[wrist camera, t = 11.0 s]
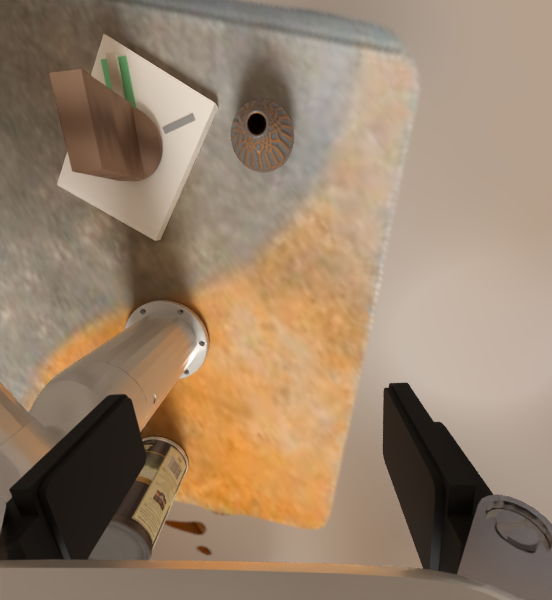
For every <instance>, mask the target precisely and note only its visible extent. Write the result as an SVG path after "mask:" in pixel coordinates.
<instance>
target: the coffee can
mask: <svg viewBox="0 0 552 600" xmlns="http://www.w3.org/2000/svg"><path fill="white" fill-rule="evenodd" d="M142 441H143V444H144V448H145V452H146V463H145V465H144V467H143V469H142V470H141V472H140V474H139V475H138V477H137V479H136V480H135V482H134V484H133V485H132V487H131V489H130V490H129V492H128V493H127V495H126V497H125V498H124V500H123V502H122V503H121V505H120V507H119V508H118V510H117V511H116V513H115V515H114V516H113V518H112V520H111V521H110V523H109V525H108V526H107V528H106V530H105V531H104V533H103V534H102V536H101V538H100V539H99V541H98V543H97V544H96V546H95V548H94V549H93V551H92V553H91V554H90V556H89V557H88V559H87V560H150V558H151V555H152V550H153V548H154V546H155V543H156V541H157V539H158V536H159V534H160V531H161V529H162V527H163V525H164V522H165V520H166V518H167V515H168V513H169V511H170V508H171V506H172V504H173V501H174V499H175V497H176V494H177V492H178V490H179V487H180V485H181V483H182V480H183V478H184V476H185V474H186V472H187V470H188V458H187V456H186V454H185V452H184V451H183V449H182V448H181V447H180V446H179V445H178V444H176V443H175V442H173V441H171V440H169V439H167V438H163V437H157V436H151V437H146V438H144V439H142Z"/></svg>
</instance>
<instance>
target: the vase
mask: <svg viewBox="0 0 552 600" xmlns="http://www.w3.org/2000/svg"><path fill="white" fill-rule="evenodd" d="M231 142H232V146H233V149H234V152H235V154H236V155H237V157H238V158H239V160H240V161H241V162H242V163H243V164H244V165H245V166H247V167H248V168H250V169H251V170H254V171H257V172H271V171H274V170H276V169H278V168H279V167H281V166H282V165H283V164H284V163H285V162H286V161H287V159H288V158H289V156H290V154H291V151H292V148H293V143H294V131H293V126H292V123H291V120H290V118H289V116H288V115H287V113H286V112H285V110H284V109H283V108H282V107H281V106H279V105H278V104H276V103H275V102H273V101H270V100H266V99H256V100H252V101H250V102H248V103H246V104H245V105H243V106H242V107H241V108H240V109H239V111H238V112H237V114H236V115H235V117H234V120H233V123H232V127H231Z"/></svg>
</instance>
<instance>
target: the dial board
mask: <svg viewBox="0 0 552 600" xmlns="http://www.w3.org/2000/svg"><path fill="white" fill-rule="evenodd" d="M112 52H115V53H116V54H117V55H118V61H119V66H120V72H121V78H122V83H123V89H124V94H125V99H126V100H127V101H129V102H130V103H132V107H134V108H137V109H138V110H140V111H142V112H143V113H144V114H146V115H147V116H148V117H149V118H150V119H151V120H152V121H153V122H154V124H155V125H156V127H157V129H158V131H159V133H160V136H161V140H162V158H161V161H160V164H159V166H158V168H157V169H156V171H155V172H154V173H153V174H152V175H151V176H149V177H148V178H146V179H144V180H140V181H117V180H112V179H107V178H102V177H97V176H92V175H87V174H82V173H77V172H72V169H71V164H70V160H69V156H68V152H67V154H66V157H65V160H64V164H63V167H62V170H61V173H60V177H59V180H58V183H57V185H58V186H60V187H62V188H63V189H65V190H67V191H69V192H70V193H72V194H74V195H76V196H77V197H79V198H81V199H83V200H84V201H86V202H88V203H90V204H91V205H93V206H95V207H97V208H98V209H100V210H102V211H104V212H105V213H107V214H109V215H111V216H113V217H114V218H116V219H118V220H120V221H121V222H123V223H125V224H127V225H128V226H130V227H132V228H134V229H135V230H137V231H139V232H141V233H142V234H144V235H146V236H148V237H149V238H151V239H153V240H155V241H157V240H161V238H162V235H163V233H164V231H165V228H166V226H167V224H168V222H169V219H170V217H171V215H172V213H173V210H174V208H175V206H176V203H177V201H178V199H179V197H180V194H181V192H182V190H183V187H184V185H185V183H186V181H187V178H188V176H189V174H190V172H191V169H192V167H193V165H194V162H195V160H196V158H197V156H198V153H199V151H200V149H201V147H202V144H203V142H204V140H205V137H206V135H207V133H208V131H209V128H210V126H211V124H212V121H213V119H214V117H215V115H216V112H217V110H218V106H217V105H216V104H215V103H214V102H213V101H211V100H210V99H208V98H206V97H205V96H203V95H201V94H200V93H198V92H197V91H195V90H193V89H192V88H190V87H189V86H187V85H185V84H184V83H182V82H181V81H179V80H177V79H176V78H174V77H173V76H171V75H169V74H168V73H166V72H165V71H163V70H161V69H160V68H158V67H157V66H155V65H153V64H152V63H150V62H149V61H147V60H145V59H144V58H142V57H141V56H139V55H137V54H136V53H134V52H133V51H131V50H129V49H128V48H126V47H125V46H123V45H121V44H120V43H118V42H117V41H115V40H113V39H112V38H110V37H109V36H107V35H105V34H103V38H102V41H101V44H100V47H99V50H98V54H97V57H96V60H95V63H94V67H93V70H92V73H91V76H92V77H94V78H95V79H97V80H98V81H99V82H101V83H102V84H104V85H105V86H107V87H108V88H110V89H111V90H112V85H111V80H110V74H109V69H108V64H107V58H106V53H112Z"/></svg>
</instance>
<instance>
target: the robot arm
mask: <svg viewBox="0 0 552 600" xmlns="http://www.w3.org/2000/svg"><path fill="white" fill-rule="evenodd" d="M145 310H146V311H145ZM181 310H183V312H182V311H181ZM203 341H204V342H203ZM208 350H209V338H208V333H207V330H206V328H205V326H204V324H203V322H202V321H201V319H200V318H199V317H198V316H197V314H195V313H194V312H193V311H192V310H191V309H189V308H188V307H186V306H184V305H183V304H180V303H177V302H175V301H170V300H156V301H151V302H148V303H146V304H144V305H142V306H140V307H139V308H137V309H136V310H135V311H134V312H133V313H132V314H131V316H130V317H129V318H128V321H127V323H126V325H125V330H124V331H122V332H121V333H119V334H118V335H116V336H115V337H113V338H112V339H110V340H109V341H107V342H106V343H104V344H103V345H101V346H100V347H98V348H97V349H95V350H94V351H92V352H91V353H89V354H88V355H86V356H85V357H83V358H82V359H80V360H79V361H77V362H76V363H74V364H73V365H71V366H70V367H68V368H67V369H65V370H64V371H62V372H61V373H59V374H58V375H57V376H55V377H54V378H53V379H52V380H51V381H50V382H49V383H48V384H47V385H46V386H45V387H44V388H43V390H42V391H41V392H40V394H39V395H38V397H37V398H36V400H35V401H34V403H33V405H32V407H31V409H30V411H29V413H28V412H27V411H26V410H25V408H24V407H23V406H22V405H21V404H20V403H19V402H18V401H17V400H16V399H15V398H14V397H13V395H12V394H11V393H10V392H9V391H8V390H7V389H6V388H5V387H4V386H3V385H2V383H1V382H0V600H552V524H551V523H550V522H549V521H548V520H547V518H546V517H544V516H543V515H542V514H541V513H539V512H538V511H537V510H536V509H534V508H533V507H531V506H529V505H527V504H526V503H524V502H522V501H519V500H517V499H514V498H512V497H509V496H503V495H493V494H492V492H491V491H490V489H489V488H488V487H487V485H486V484H485V482H484V481H483V479H482V478H481V477H480V475H479V474H478V472H477V471H476V469H475V468H474V467H473V465H472V464H471V462H470V461H469V460H468V458H467V457H466V456H465V454H464V452H463V451H462V450H461V448H460V447H459V445H458V444H457V443H456V441H455V440H454V438H453V437H452V436H451V435H450V433H449V431H448V430H447V428H446V427H445V426H444V425H443V424H442V423H440V422H433V420H432V419H431V417H430V416H429V414H428V413H427V411H426V410H425V408H424V407H423V405H422V404H421V402H420V401H419V399H418V398H417V396H416V395H415V393H414V392H413V390H412V389H411V387H410V386H409V384H408V383H390V384H389V388H385V389H384V406H383V407H384V408H383V410H384V411H383V455H384V460H385V464H386V466H387V469H388V472H389V475H390V477H391V480H392V483H393V486H394V489H395V491H396V494H397V497H398V499H399V502H400V505H401V508H402V511H403V514H404V516H405V519H406V522H407V525H408V527H409V530H410V533H411V536H412V538H413V541H414V544H415V547H416V550H417V552H418V555H419V558H420V561H421V563H422V566H423V569H420V568H409V567H398V566H379V565H354V564H328V563H280V562H279V563H278V562H233V561H163V560H87V559H88V557H89V556H90V554H91V553H92V551H93V549H94V548H95V546H96V544H97V543H98V541H99V539H100V538H101V536H102V534H103V533H104V531H105V530H106V528H107V526H108V525H109V523H110V521H111V520H112V518H113V516H114V515H115V513H116V511H117V510H118V508H119V507H120V505H121V503H122V502H123V500H124V498H125V497H126V495H127V493H128V492H129V490H130V489H131V487H132V485H133V484H134V482H135V480H136V479H137V477H138V475H139V474H140V472H141V470H142V469H143V467H144V465H145V463H146V452H145V448H144V444H143V441H142V437H141V433H140V432H141V431H142V429H143V428H144V426H145V425H146V424H147V422H148V421H149V419H150V418H151V417H152V415H153V414H154V413H155V411H156V410H157V408H158V407H159V406H160V404H161V403H162V401H163V400H164V399H165V397H166V396H167V395H168V393H169V392H170V390H171V389H172V388H173V386H174V385H175V383H176V382H177V381H178V379H182V378H185V377H188V376H190V375H192V374H193V373H195V372H196V371H197V370H198V369H199V368H200V367H201V365H202V364H203V362H204V361H205V359H206V357H207V354H208Z"/></svg>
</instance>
